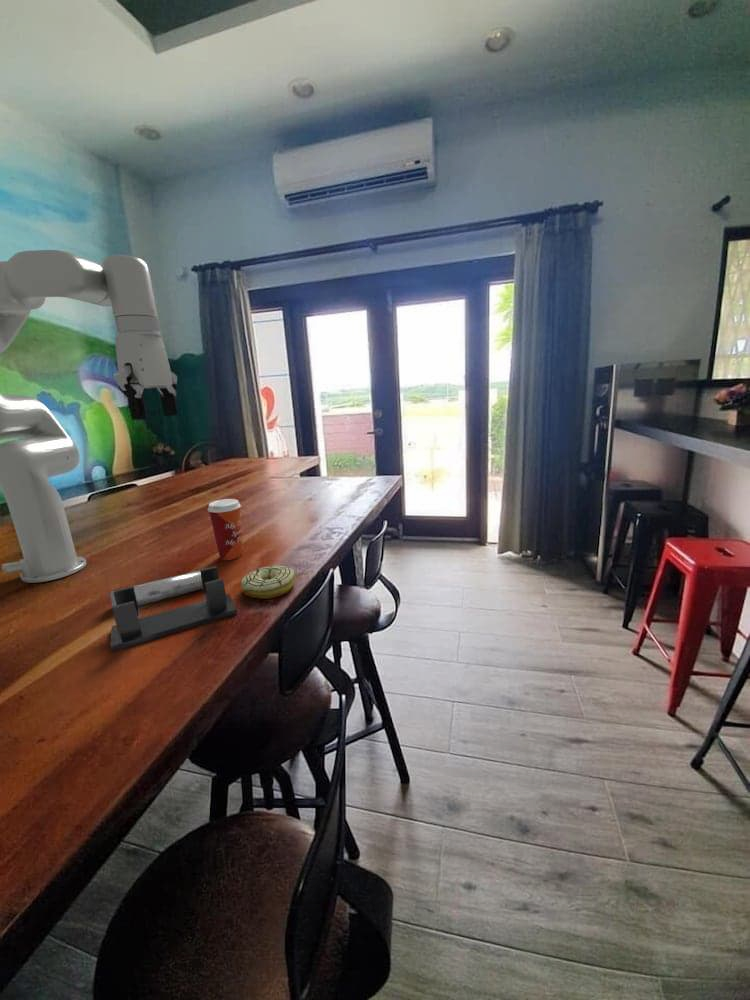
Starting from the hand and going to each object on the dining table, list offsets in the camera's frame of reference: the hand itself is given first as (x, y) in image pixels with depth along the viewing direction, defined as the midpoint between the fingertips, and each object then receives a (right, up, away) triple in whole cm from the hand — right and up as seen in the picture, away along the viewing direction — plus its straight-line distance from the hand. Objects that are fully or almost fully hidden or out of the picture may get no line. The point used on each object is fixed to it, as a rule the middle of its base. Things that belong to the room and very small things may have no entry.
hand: (156, 417), depth 84 cm
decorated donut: (+23, -36, +1) cm, 43 cm away
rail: (+2, -35, -2) cm, 36 cm away
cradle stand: (+9, -39, -11) cm, 42 cm away
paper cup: (+9, -31, +18) cm, 37 cm away
